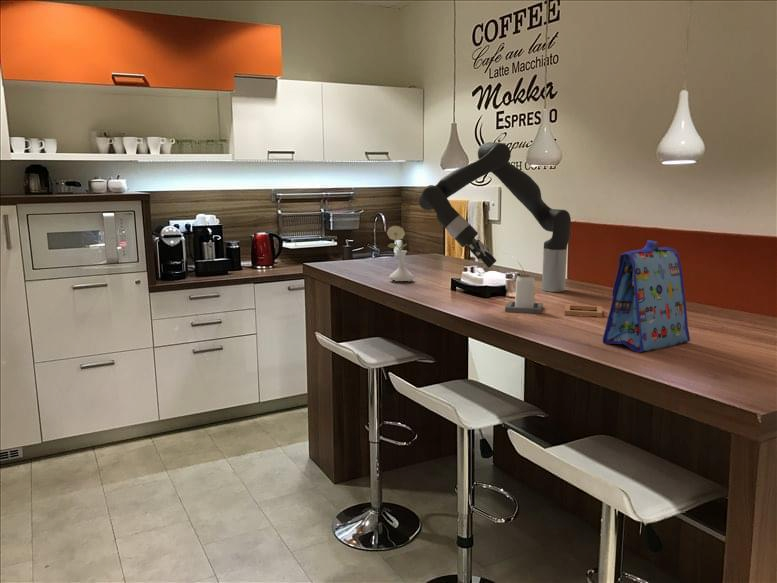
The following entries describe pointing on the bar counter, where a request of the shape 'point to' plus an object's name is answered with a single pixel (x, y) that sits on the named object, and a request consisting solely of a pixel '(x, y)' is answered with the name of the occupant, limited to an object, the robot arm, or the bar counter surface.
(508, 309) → the grey socket
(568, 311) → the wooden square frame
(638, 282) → the lunch bag
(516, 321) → the bar counter surface
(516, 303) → the can
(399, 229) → the flower in vase
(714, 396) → the bar counter surface
